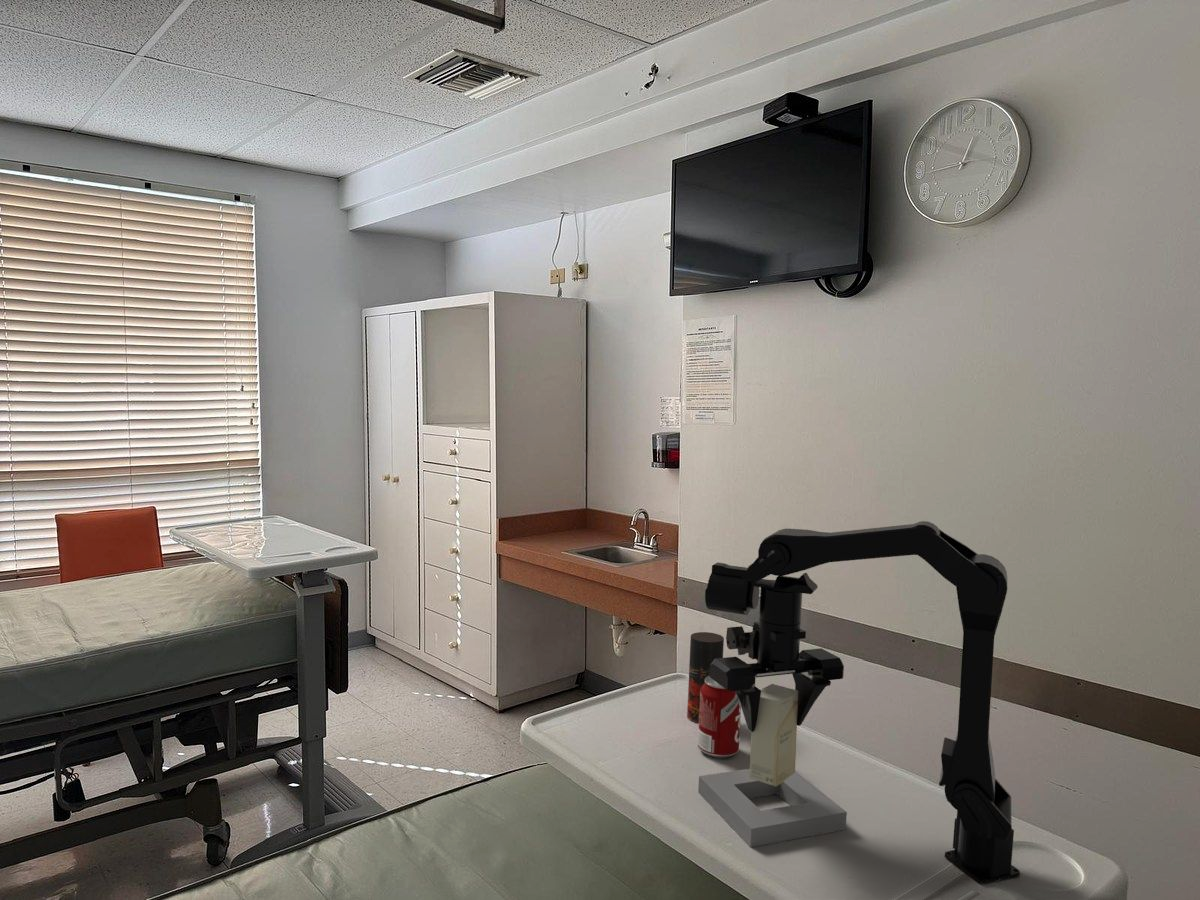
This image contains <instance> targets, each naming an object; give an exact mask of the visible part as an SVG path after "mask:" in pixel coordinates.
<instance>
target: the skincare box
mask: <svg viewBox="0 0 1200 900" xmlns="http://www.w3.org/2000/svg"><path fill="white" fill-rule="evenodd" d="M760 690H761V696H760V703H759V710H758V717H757V723H756V727H755V731H754V732H751V731H750V732H751V734H750V735H751V736H750V754H749V755H750V756H749V757H750V759H749V769H750V778H752V779H755V780H758V781H760V782H763V783H766V784H769V785H773V786H778V785H779V784H781V783H782V782H783V781H785V780H786V779H787V778H789V777H790V776H791V775H792V774H794V773H795V771H796V761H797V760H796V758H797V757H796V756H797V736H798V735H797V731H798V725H797V708H798V691H797V690H795V688H790V687H785V686H782V685H778V684H774V683H770V684H769V685H767V686H766V687H763V688H762V689H760Z"/></svg>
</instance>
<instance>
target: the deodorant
mask: <svg viewBox="0 0 1200 900" xmlns="http://www.w3.org/2000/svg"><path fill="white" fill-rule="evenodd" d="M724 640H725V638H724V636H723V635H721V634H718V633H715V632H714V633H713V632H707V631H706V632H705V631H700V632H693V633H692V634H691V635H690V643H689V644H690V645H689V662H688V663H689V664H688V665H689V667H688V684H687V685H688V688H687V689H688V691H687V708H686V711H687V712H686V717H687V719H688V721H690V722H693V723H695V724H697V725H699V708H700V689H701V687H702V686H703V685H704V683H705V678H706V677H708V676H710V665H711V663H712V662H713V661H714V659H716V658H724V644H725V641H724Z"/></svg>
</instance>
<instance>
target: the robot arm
mask: <svg viewBox="0 0 1200 900" xmlns="http://www.w3.org/2000/svg"><path fill="white" fill-rule="evenodd" d="M757 550H758V552H757V553H758V554H757V555H758V556H757V558H755V560H754V562H753V563H751V564H750V565H748V567H745V566H737V565H732V564H731V565H730V564H727V563H724V562H715V563H714V564H713V565H711V573H710V575H709V577H708V581H707V585H706V587H705V590H704V599H705V600H704V601H705V607H706V608H707V609H708V610H711V611H712V610H713V611H719V612H725V613H731V614H738V615H744V616H748V615H749V613H750V611H751V609H752V610H755V609H757V607H758V605H759V612H758V613H759V614H758V615H759V617H758V621H754V622H753V625H752V631H747V632H745V630H744V627H743V626H730V627H726V637H725V642H726V647H727V649H729V650H737V655H738V656H744V655H746V654H748V655H747V657H749V659H752V660H756V662H754V663H753V662H751V663H747V662H745V661H744V660H742V659H740V658H739V657H737V656H727V657H723V658H716V659H714V661H713V662H712V663H711V665H710V678H711V679H713V680H714V681H716V682H717V683H718V684H720V685H721V686H722V687H724V688H725V689H726V690H729V691H735V692H736V694H737V697H738V699H739V701H740V704H741V712H742V714H743V717H744V720H745V723H746V727H747V730H749V731H750V732H754V731H755V727H756V723H757V717H758V710H759V703H760V696H761V689H759V687H756V678H764V677H765V678H766V677H773V676H784V675H792V677H793V681H794V684H795V685H794V686H795V687H794V690H797V691H798V708H797V727H798V726H801V725H802V724H803V722H804V720H805V718H806V717H807V716H808V714H809V712H810V710H811V709H812V707H813V705H814V704H815V702H816V701H817V699H818V698H819V697H820V695H821V694H822V693H823V691H825V688H826V687H828V686H829V687H830V686H831V684H832V681H834V680H842V679H844V673H845V664H844V662H843V660H842V659H841V658H840V657H839V656H837V655H835V654H834V653H831V652H829V651H828V650H825V649H824V648H821V647H820V648H811V649H810V648H809V649H802V650H801V651H800V642H801V640H804V639H806V634H807V632H806V630H804V629H801V626H802V625H801V623H802V605H803V603H802V602H803V594H806V595H813V593H814V592H815V591H816V590H817V589H818V584H817V583H816V582H815V581H813V580H812V579H811V578H810V576H809V574H808V573H807V572H804V573H802V575H800V577H795V576H789V575H791V574H795V573H799V572H802V571H805V570H809V569H812V568H815V567H818V566H821V565H825V564H828V563H836V562H837V563H838V562H848V561H860V560H871V559H873V560H874V559H881V558H882V559H883V558H892V557H895V558H896V557H904V556H919V558H920V559H922V560H924V561H925V562H926V563H928V565H930V567H932V568H933V569H934V571H936V572H937V573H938V574H940V575H941V577H943V578H944V579H945V580H946V581H948V582H949V583H950V584H951V585H954V586H955V587H956V594H957V595H956V596H957V603H958V609H959V615H960V616H959V617H960V620H961V621H960V622H961V625H962V626H961V627H962V632H963V633H962V636H963V637H962V650H961V651H962V652H961V667H960V668H961V671H960V684H959V685H960V687H959V703H958V704H959V705H958V706H959V707H958V719H957V721H958V722H957V723H958V724H957V732H956V735H955V736H956V737H955V739H952V738H949V737H943V743H942V748H941V755H940V757H941V769H940V771H941V772H940V775H939V782H938V783H939V784H938V785H939V786H940V787H943V786H944V795H945V799H946V801H947V802H948V803H949V804H950V805H951V806H952V807H953V808H954V809H955V810H956V817H955V818H954V827H953V838H952V840H953V841H952V849H953V850H948V851H944V857H945V858H946V859H947V860H949V861H950V862H951V863H953V864H954V866H955V865H956V867H958V868H959V869H960V870H961V871H963V872H964V873H966V874H967V875H969V876H970V877H971V878H973V880H975V881H976V882H978V883H979V884H983V885H985V884H990V883H993V882H998V881H1003V880H1006V879H1007V880H1008V879H1011V878H1016V877H1020V875H1021V871H1020V870H1019V868H1017V867H1015V866H1014V865H1013V864H1012V861H1013V860H1012V859H1013V848H1014V847H1013V846H1014V833H1015V830H1014V829H1013V828H1012V827H1013V826H1012V823H1013V822H1012V821H1013V820H1012V819H1013V818H1012V815H1013V814H1012V811H1013V810H1012V796H1011V794H1010V793H1009V792H1008V791H1007V790H1006V789H1005V787H1003V785H1002V784H1001V782H1000V781H999V780H997V778H996V772H995V764H994V756H993V749H992V745H991V744H992V743H991V740H990V715H991V700H992V699H991V696H992V681H993V680H992V679H993V665H994V649H995V635H996V632H997V629H998V625H999V623H1000V618H1001V617H1002V616H1001V615H1002V612H1003V608H1004V606H1005V605H1004V604H1005V600H1006V598H1007V594H1008V593H1007V592H1008V571H1007V570H1006V567H1005V566H1004V564H1003V563H1002V562H1001V561H1000V560H999V559H998V558H996V557H994V556H992V555H988V554H985V553H984V554H983V553H982V554H981V553H979V554H978V553H977V552H976V551H975V550H973V549H971V548H970V547H969V546H967V545H966V544H964V543H962V542H961V541H959V540H958V539H956V538H955V537H952V536H950V535H949V534H947V533H946V532H944V531H943V530H941V529H940V528H939V527H938V526H937V525H936V524H934V523H932V522H930V521H926V520H925V521H924V520H921V521H917V522H915V523H911V524H910V523H909V524H901V525H892V526H881V527H871V528H863V529H862V528H861V529H852V530H845V531H844V530H843V531H834V532H833V531H832V532H827V531H825V532H824V531H817V530H811V529H801V528H782V529H779V530H777V531H776V532H773V533H772V534H770V535H768V536H767V537H765V538H764V539H763V540H762V541H761V543H760V544H759V548H758V549H757ZM770 575H772V576H776V578H775V579H767V577H768V576H770Z"/></svg>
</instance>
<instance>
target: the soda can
mask: <svg viewBox="0 0 1200 900" xmlns="http://www.w3.org/2000/svg"><path fill="white" fill-rule="evenodd" d="M741 716H742V707H741V704H740V701H739V699H738V697H737V694H736V692H735V691H729V690H726V689H725V688H724V687H722V686H721V685H720V684H718V683H717V682H716V681H714V680H713V679H711V678H710V676H708V677H706V678H705V683H704V685H703V686H702V687H701V689H700V708H699V724H698V731H697V733H698V734H697V748H698V750H700V751H701V752H702V753H704V754H705V755H707V756H709V757H713V758H716V759H725V758H729V757H732V756H734V755H737V753H739V751H740V736H741Z"/></svg>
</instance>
